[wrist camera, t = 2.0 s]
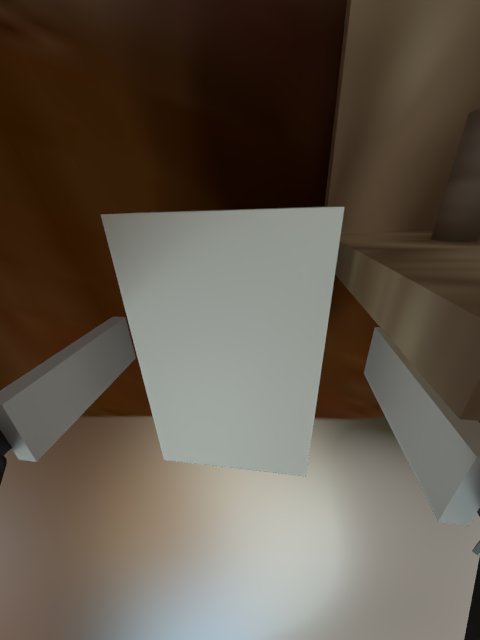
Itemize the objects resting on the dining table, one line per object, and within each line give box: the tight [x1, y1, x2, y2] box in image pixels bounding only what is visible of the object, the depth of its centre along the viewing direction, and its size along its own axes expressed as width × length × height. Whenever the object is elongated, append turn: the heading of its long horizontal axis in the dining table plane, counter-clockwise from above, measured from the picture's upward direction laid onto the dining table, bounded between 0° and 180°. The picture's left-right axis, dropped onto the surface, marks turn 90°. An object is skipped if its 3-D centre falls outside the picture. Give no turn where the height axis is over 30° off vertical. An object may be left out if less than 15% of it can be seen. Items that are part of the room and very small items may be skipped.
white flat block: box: [101, 207, 344, 476], centre depth 12 cm, size 8×13×3 cm, turn 2°
